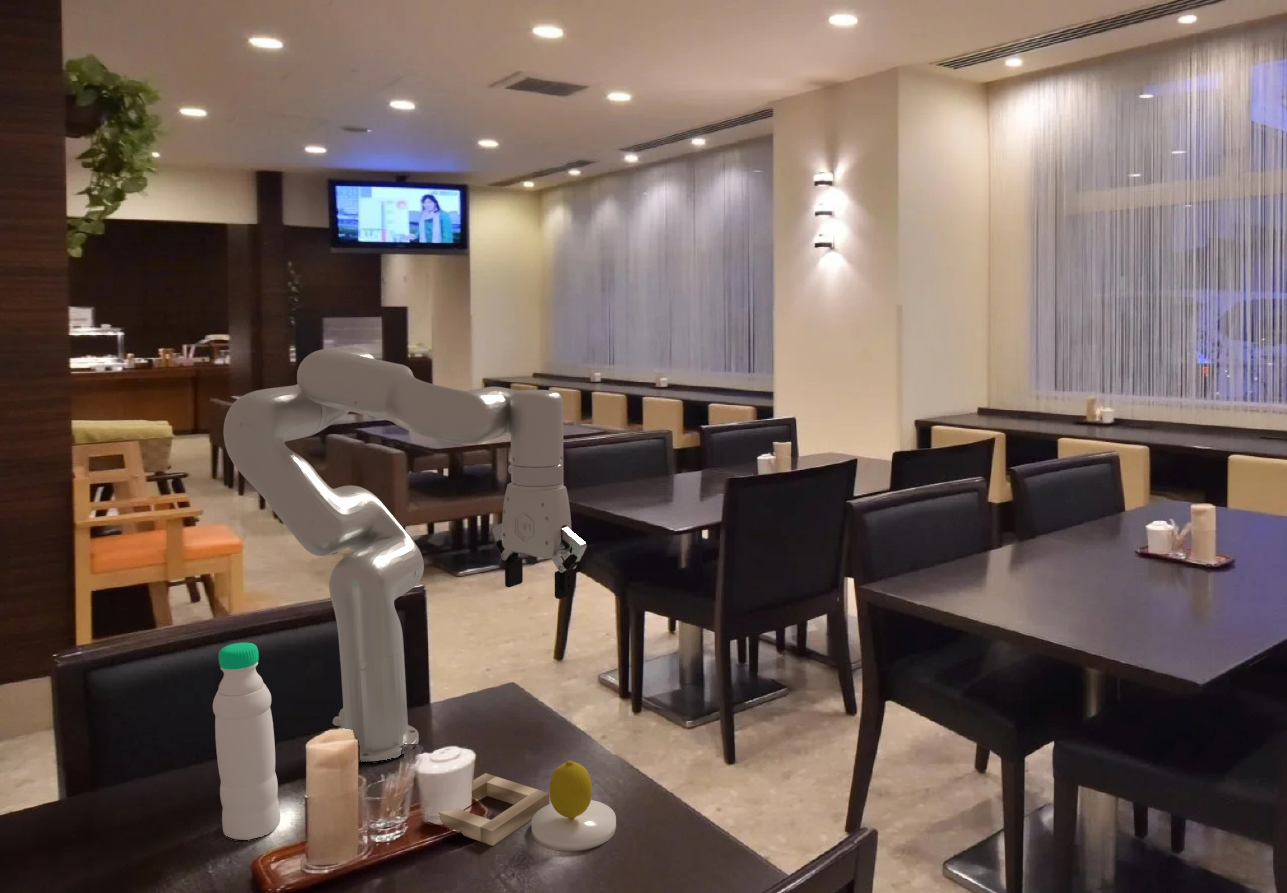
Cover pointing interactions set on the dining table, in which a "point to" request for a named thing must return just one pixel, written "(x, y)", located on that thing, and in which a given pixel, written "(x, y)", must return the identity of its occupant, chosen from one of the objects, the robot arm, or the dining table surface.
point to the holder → (504, 823)
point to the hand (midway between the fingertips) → (538, 590)
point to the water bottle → (245, 746)
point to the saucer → (574, 828)
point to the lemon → (570, 789)
